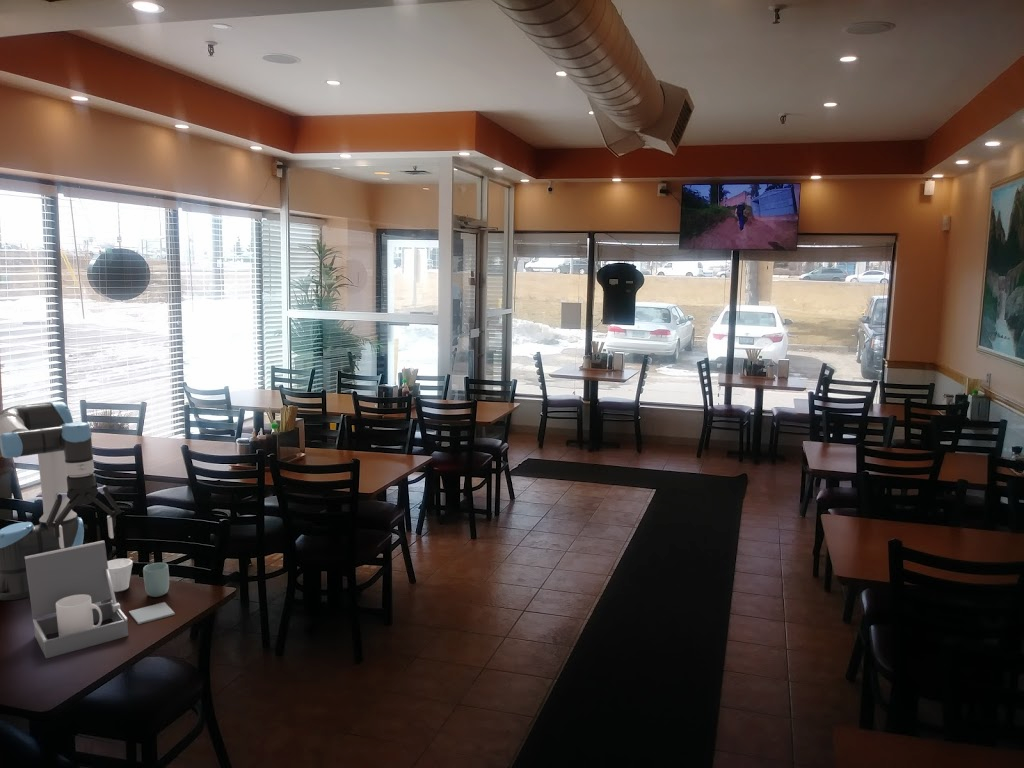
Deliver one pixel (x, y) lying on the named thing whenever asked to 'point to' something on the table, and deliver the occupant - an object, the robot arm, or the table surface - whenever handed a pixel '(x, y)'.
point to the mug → (75, 614)
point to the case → (85, 636)
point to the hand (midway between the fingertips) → (86, 542)
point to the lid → (67, 576)
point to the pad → (151, 613)
